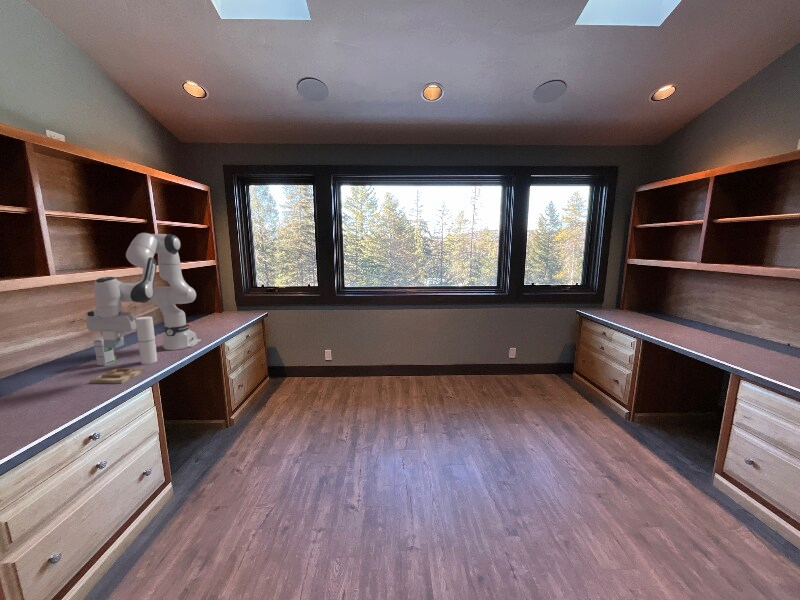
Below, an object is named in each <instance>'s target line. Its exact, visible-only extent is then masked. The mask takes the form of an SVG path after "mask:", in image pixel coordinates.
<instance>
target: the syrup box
mask: <svg viewBox="0 0 800 600" xmlns="http://www.w3.org/2000/svg"><path fill="white" fill-rule="evenodd" d="M93 345H94V351H95V358H96V364H97V365H98V366H102V367H103V366H104V367H106V366H110V365H113V364H115V363H117V362H118V361H117V355H116V348H105V347H104V340H103V336H102V337H99V338H94V339H93Z"/></svg>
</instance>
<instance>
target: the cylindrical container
mask: <svg viewBox="0 0 800 600" xmlns="http://www.w3.org/2000/svg"><path fill="white" fill-rule="evenodd" d="M135 322H136V327H137V328H136V333H137V342H138V351H139V357H140V364H141V365H149V364H155V363H156V362H158V356H157V355H158V354H157V346H156V338H155V337H156V336H155V328H154V321H153V316H139V317H136V318H135Z"/></svg>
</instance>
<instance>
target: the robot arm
mask: <svg viewBox="0 0 800 600" xmlns="http://www.w3.org/2000/svg"><path fill="white" fill-rule="evenodd" d="M181 247H182V243H181V240H180V239H179V237H178V236H176V235H175V234H172V233H171V234H170V233H168V234H165V233H148V232H141V233H138V234H136V236H135V237H134V238H133V239H132V241H131V242H130V244H129V246H128V248H127V250H126V252H125V258H126V259H127V261H128V262H129V263H130V264H131V265H133V266H135V267H137V268H140V269H142V274H141V278H140V281H138V282H137V281H136V282H123V281H120V280H118V279H117V277H114V276H105V277H104V276H103V277H99V278H97V279H96V280H95V281H94V285H93V290H94V298H95V300H96V305H95V307H96V308H95V309H92V310H89V311H86V312H85V316H86V319H85V323H86V324H85V326H86V329H87V330H88V332H99V334H100V336H102V337H103V333H102V331H119V334H120V336H119V337H117V338H118V340H123V339H124V340H125V338H124V336H125V335H126V332H133V331H135V330H137V327H136V318H135V316H134V314H133V313H132V312H130V311H123V304H122V303H124V302H125V303H139V304H140V303H142V304H145V303H148V302H149V301H150V302H151V303H152V304H154V305H156V307H158V308H159V309H160V311H161V313H162V317H163V323H164V326H163V331H164V334H163V344H162V345H161V347H162V348H163V349H164V350H168V351H170V350H171V351H174V350H175V351H176V350H182V349H183V350H184V349H188V348H193V347H194V346H196V345H198V342H199V343H200V342H202V339H200V338H197V333H196V332H194V331H192V330H191V329H190V328H189V327H191V325H192V324H191V323H187V320H186V319H187V318H186V313H185V311H184V310H183V309H180V308H178V307H177V306H176V305H177V304H178V305H183V304H190V303H193V302H194V301H195V300H196V298H197V292H196V290H195V289H194V288H193V287H191V286H190V285H189V284H188V283H187V282H186V280H185V279H184V276H183V274H182V273H183V272H182V267H181V260H180V255H179V252H180V250H181ZM155 254H157V260H156V259H155V258H154V256H155ZM157 265H158V275H159V277H160V278H161V279H162V280H163V281H166V282H167V283H168V284H169V285H168V286H167V285H166V286H165V285H164V286H163V285H162V286H155V287H154V285H155V281H156V274H157Z"/></svg>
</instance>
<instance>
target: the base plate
mask: <svg viewBox="0 0 800 600" xmlns="http://www.w3.org/2000/svg"><path fill="white" fill-rule="evenodd" d="M143 373H145V368H115V369H112V370H110V371H108V372H106V373H105V372H104V373H103V374H100V375H99V376H97V377H94V378H92V379H90V380H89V383H90V384H123V383H125V382H127V381H129V380H131V379H134V378H135V377H136V376H139V375H140V374H143Z"/></svg>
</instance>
